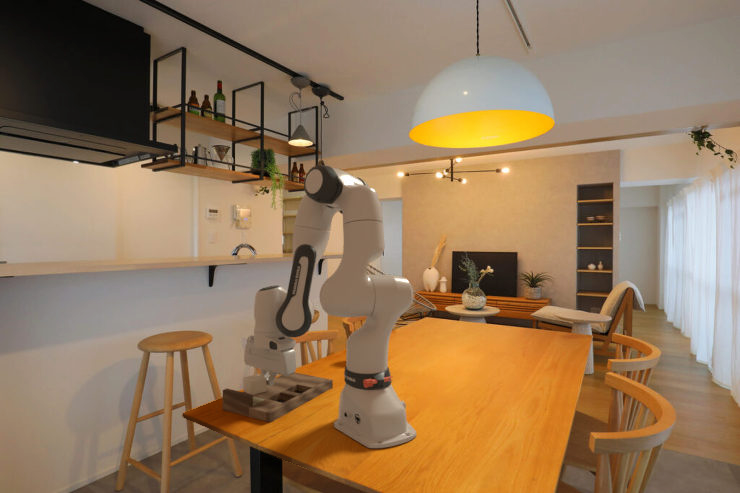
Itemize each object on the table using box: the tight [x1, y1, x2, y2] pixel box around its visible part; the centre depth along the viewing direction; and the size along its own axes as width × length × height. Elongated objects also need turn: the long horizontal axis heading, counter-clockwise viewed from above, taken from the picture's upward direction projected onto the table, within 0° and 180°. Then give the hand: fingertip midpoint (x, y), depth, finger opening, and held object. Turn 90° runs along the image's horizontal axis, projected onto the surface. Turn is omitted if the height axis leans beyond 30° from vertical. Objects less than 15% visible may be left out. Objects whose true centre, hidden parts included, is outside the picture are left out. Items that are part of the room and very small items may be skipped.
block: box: [242, 373, 267, 395], centre depth 124 cm, size 5×5×4 cm
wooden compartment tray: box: [222, 371, 334, 423], centre depth 126 cm, size 30×18×6 cm, turn 152°
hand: (268, 384), depth 125 cm, fingers closed
